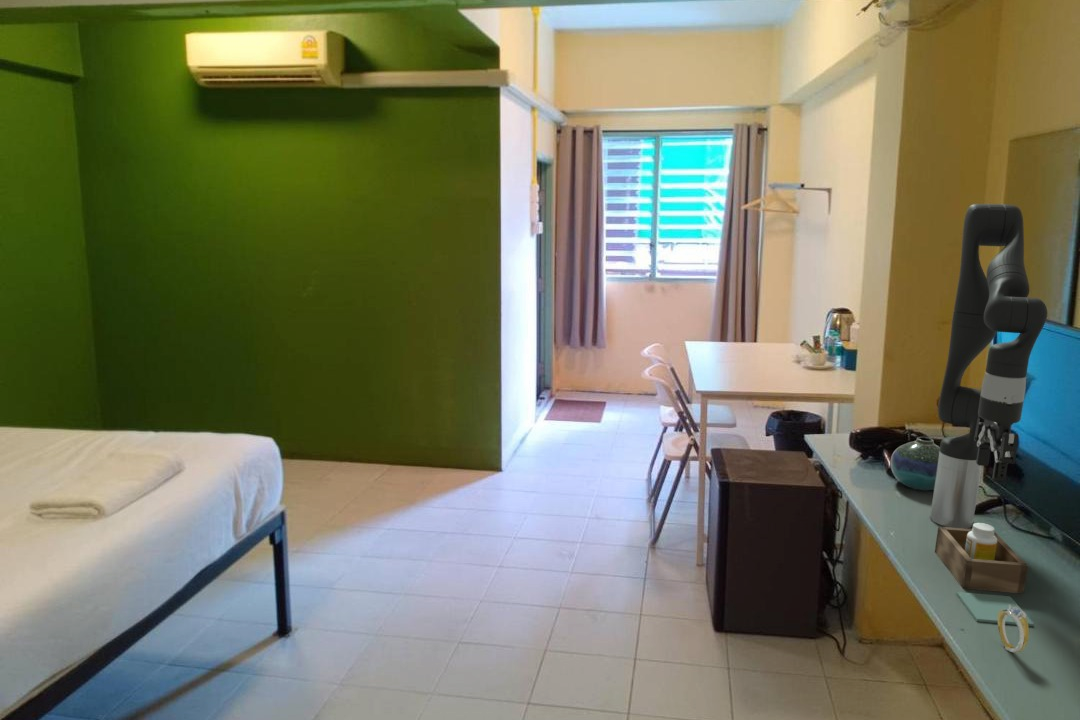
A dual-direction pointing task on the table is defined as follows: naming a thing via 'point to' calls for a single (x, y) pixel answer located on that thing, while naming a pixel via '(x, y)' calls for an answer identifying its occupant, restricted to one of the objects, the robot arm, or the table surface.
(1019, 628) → the ring
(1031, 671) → the table surface
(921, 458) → the vase
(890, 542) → the table surface
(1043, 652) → the table surface
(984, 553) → the supplement bottle
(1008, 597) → the mat
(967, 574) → the box
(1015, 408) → the robot arm
